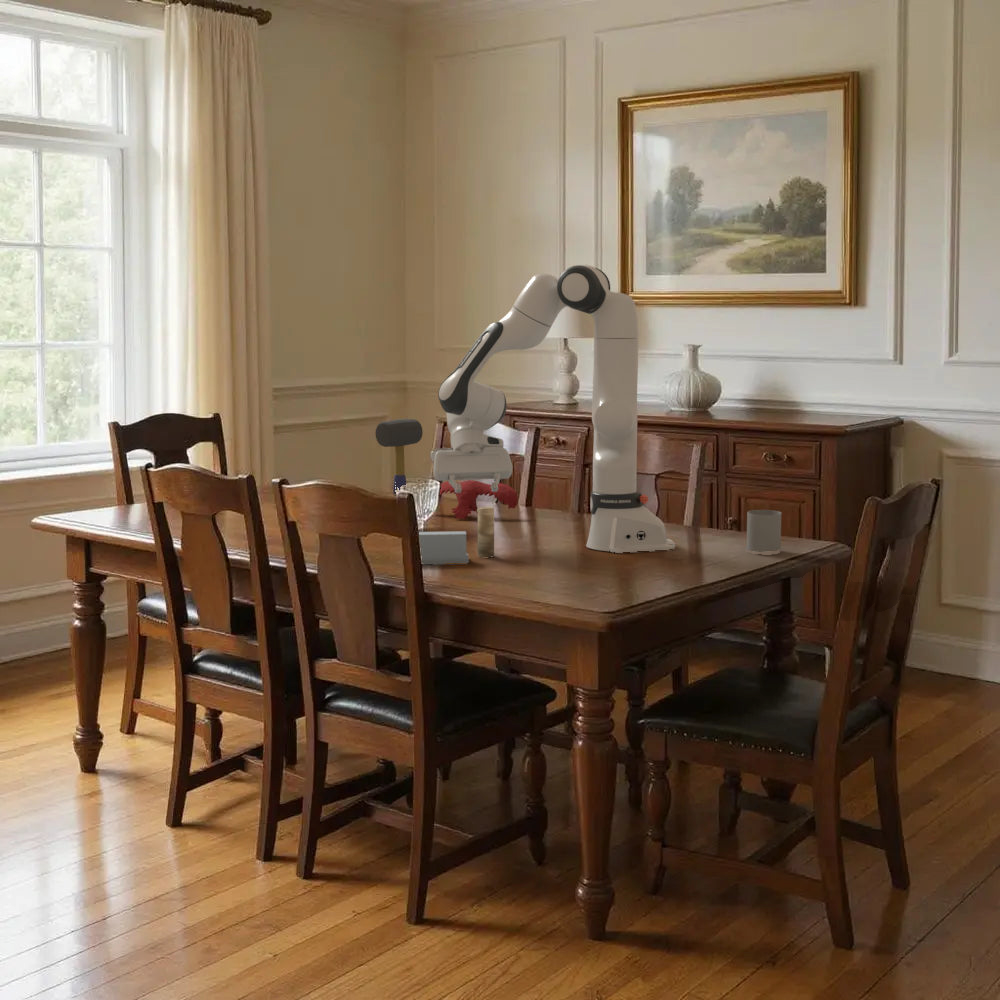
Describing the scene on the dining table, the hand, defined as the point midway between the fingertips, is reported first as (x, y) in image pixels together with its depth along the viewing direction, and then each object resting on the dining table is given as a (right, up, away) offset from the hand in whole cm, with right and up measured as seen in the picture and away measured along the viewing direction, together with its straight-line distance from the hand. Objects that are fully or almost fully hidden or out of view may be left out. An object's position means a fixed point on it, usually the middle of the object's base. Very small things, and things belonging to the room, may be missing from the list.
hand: (476, 490), depth 351 cm
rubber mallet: (-22, -10, +36) cm, 43 cm away
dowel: (+2, -16, -8) cm, 18 cm away
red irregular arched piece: (-3, -7, +52) cm, 52 cm away
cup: (+71, -15, -5) cm, 73 cm away
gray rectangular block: (-9, -17, -14) cm, 24 cm away
